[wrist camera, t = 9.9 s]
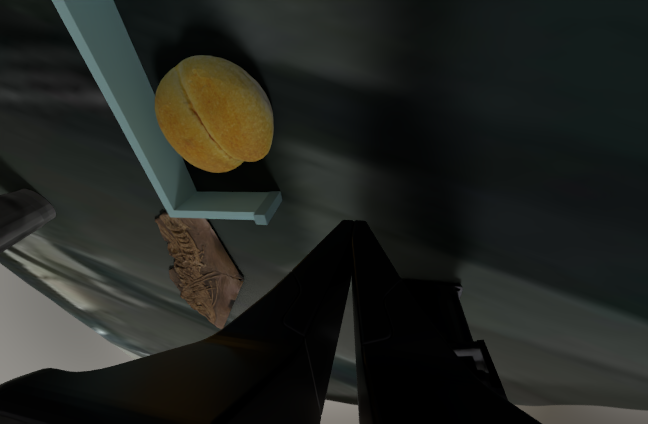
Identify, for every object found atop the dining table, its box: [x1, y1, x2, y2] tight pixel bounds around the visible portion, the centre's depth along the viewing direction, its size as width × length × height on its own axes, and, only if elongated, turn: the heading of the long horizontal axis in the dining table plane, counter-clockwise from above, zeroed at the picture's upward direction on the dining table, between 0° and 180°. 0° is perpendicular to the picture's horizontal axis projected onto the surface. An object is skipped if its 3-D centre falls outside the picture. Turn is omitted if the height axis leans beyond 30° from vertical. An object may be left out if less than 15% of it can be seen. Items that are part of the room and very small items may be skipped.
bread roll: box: [154, 55, 274, 173], centre depth 18 cm, size 8×9×4 cm
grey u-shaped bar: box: [52, 0, 282, 225], centre depth 18 cm, size 10×18×4 cm, turn 6°
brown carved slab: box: [155, 213, 244, 329], centre depth 33 cm, size 26×11×1 cm, turn 169°
